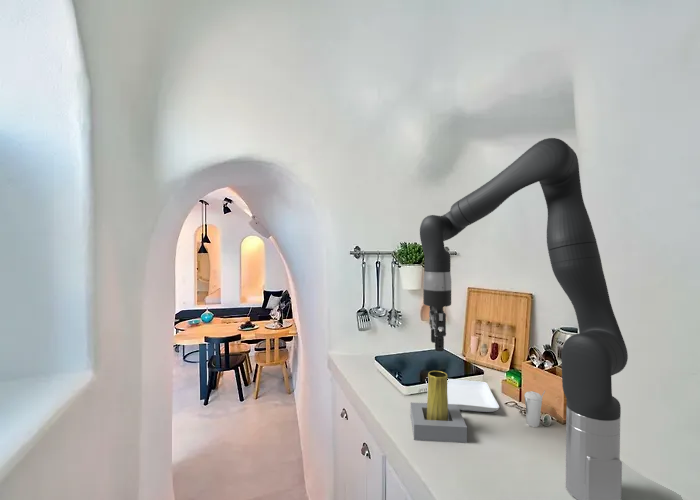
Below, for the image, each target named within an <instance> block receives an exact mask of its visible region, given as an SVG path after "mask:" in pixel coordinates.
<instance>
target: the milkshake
mask: <svg viewBox="0 0 700 500" xmlns="http://www.w3.org/2000/svg"><path fill="white" fill-rule="evenodd" d="M545 392H546V390H544V391H543V392H542V394H540V393H539V392H536V391H532V390H531V391H526V392H525V393H524V402H525V405H524V406H525V417H526V418H525V419H526V424H527V425H528V426H529V427H532V428H538V427H540V422H541V409H542V403H543V396H544V395H545Z"/></svg>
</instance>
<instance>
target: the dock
mask: <svg viewBox="0 0 700 500" xmlns="http://www.w3.org/2000/svg"><path fill="white" fill-rule="evenodd" d="M410 421H411V430H412V435H413V440H414V441H429V442H430V441H431V442H446V443H447V442H448V443H466V444H467V443H468V426H467V424H466V421H465V420H464V417H463V415H462V413H461V410H459V408H458V406H457V405H455V404H448V421H439V420H427V403H426V402H410Z"/></svg>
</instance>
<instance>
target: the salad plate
mask: <svg viewBox="0 0 700 500" xmlns="http://www.w3.org/2000/svg"><path fill="white" fill-rule="evenodd" d="M447 379H448V380H449V382H448V384H447V396H448V404H455V405H457V406H458V408H459V410H460V411H467V412H479V413H480V412H481V413H482V412H483V413H492V412H495V411H498V410H499V409H500V405H499V403H498V401H497V399H496V398H495V396H494V394H493V393H492V390H491V388H490V386H489V383H487V382H485V381H479V380H468V379H467V380H466V379H455V378H447ZM425 383H426V390H427V395H426V396H427V397H428V383H427V381H426V380H425ZM427 397H426V398H427Z"/></svg>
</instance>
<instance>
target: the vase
mask: <svg viewBox="0 0 700 500" xmlns="http://www.w3.org/2000/svg"><path fill="white" fill-rule="evenodd" d="M427 378H428V397H426V402H427V420H439V421H448V396H447V379H449V378H448V373H446V372H444V371H441V370H431V371H429V372H428V374H427Z"/></svg>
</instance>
